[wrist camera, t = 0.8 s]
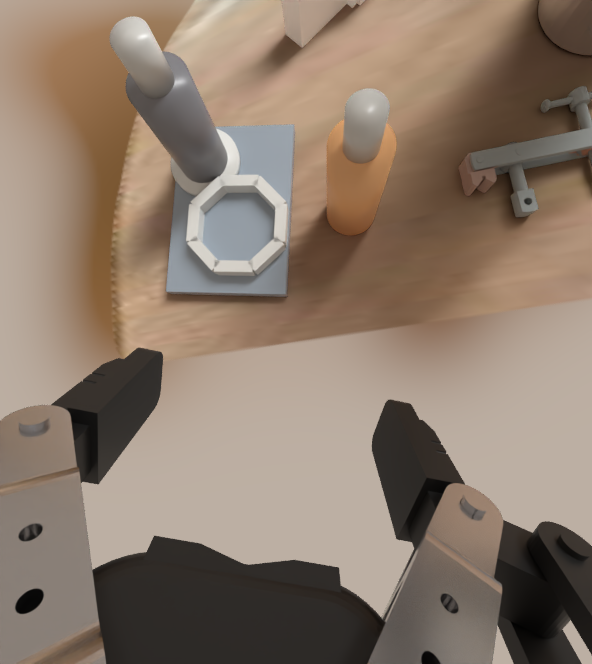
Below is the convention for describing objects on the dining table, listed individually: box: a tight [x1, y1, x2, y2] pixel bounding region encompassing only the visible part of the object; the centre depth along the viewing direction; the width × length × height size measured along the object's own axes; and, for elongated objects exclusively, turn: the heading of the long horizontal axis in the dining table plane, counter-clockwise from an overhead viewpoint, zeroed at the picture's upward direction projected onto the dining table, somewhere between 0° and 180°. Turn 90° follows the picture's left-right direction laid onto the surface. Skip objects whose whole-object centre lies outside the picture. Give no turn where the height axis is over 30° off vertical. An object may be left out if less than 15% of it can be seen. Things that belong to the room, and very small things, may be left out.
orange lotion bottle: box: [327, 88, 397, 236], centre depth 23 cm, size 4×4×12 cm
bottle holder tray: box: [110, 17, 295, 297], centre depth 24 cm, size 16×11×13 cm
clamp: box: [458, 86, 592, 217], centre depth 28 cm, size 15×2×10 cm
